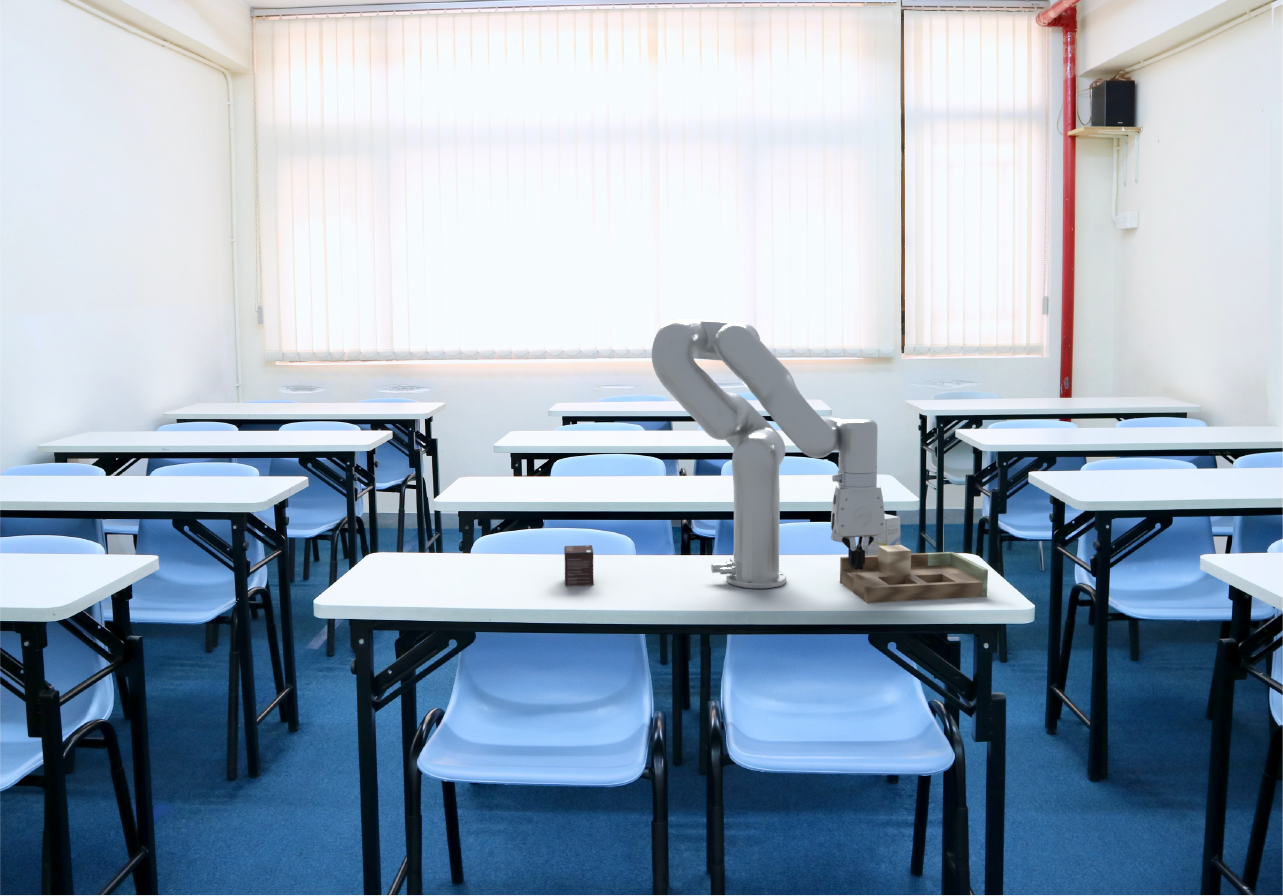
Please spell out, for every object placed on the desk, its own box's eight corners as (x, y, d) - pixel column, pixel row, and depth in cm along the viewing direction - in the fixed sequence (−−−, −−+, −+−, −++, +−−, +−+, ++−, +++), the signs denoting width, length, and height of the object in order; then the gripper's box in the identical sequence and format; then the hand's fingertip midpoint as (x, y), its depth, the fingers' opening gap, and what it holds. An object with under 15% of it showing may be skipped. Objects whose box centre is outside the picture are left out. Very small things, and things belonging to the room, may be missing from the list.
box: (564, 579, 208) (564, 545, 207) (592, 578, 209) (592, 544, 208) (565, 586, 202) (564, 552, 201) (593, 585, 203) (593, 551, 202)
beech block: (887, 575, 197) (887, 551, 197) (877, 569, 202) (878, 545, 202) (910, 574, 198) (911, 550, 198) (900, 568, 203) (901, 544, 202)
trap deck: (866, 603, 189) (867, 575, 188) (839, 582, 204) (840, 557, 203) (986, 596, 192) (988, 569, 192) (952, 577, 207) (952, 551, 206)
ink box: (901, 569, 214) (903, 516, 212) (885, 572, 211) (887, 519, 210) (872, 561, 221) (873, 510, 220) (856, 564, 218) (857, 513, 217)
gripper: (828, 484, 192) (827, 574, 194) (900, 481, 194) (898, 570, 196) (816, 478, 199) (815, 565, 201) (885, 475, 201) (884, 561, 204)
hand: (856, 567), depth 199 cm, fingers closed
